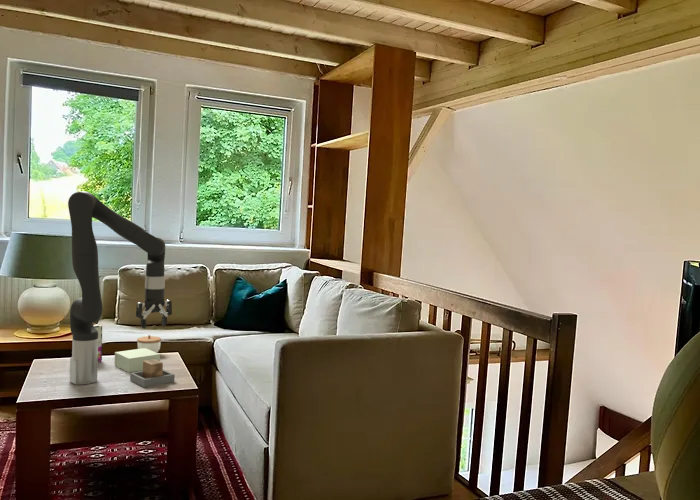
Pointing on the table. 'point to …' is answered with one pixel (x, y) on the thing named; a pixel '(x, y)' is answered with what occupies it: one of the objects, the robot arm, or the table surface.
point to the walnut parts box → (152, 368)
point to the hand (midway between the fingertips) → (153, 326)
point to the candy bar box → (99, 340)
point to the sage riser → (134, 359)
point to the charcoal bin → (151, 379)
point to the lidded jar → (149, 343)
